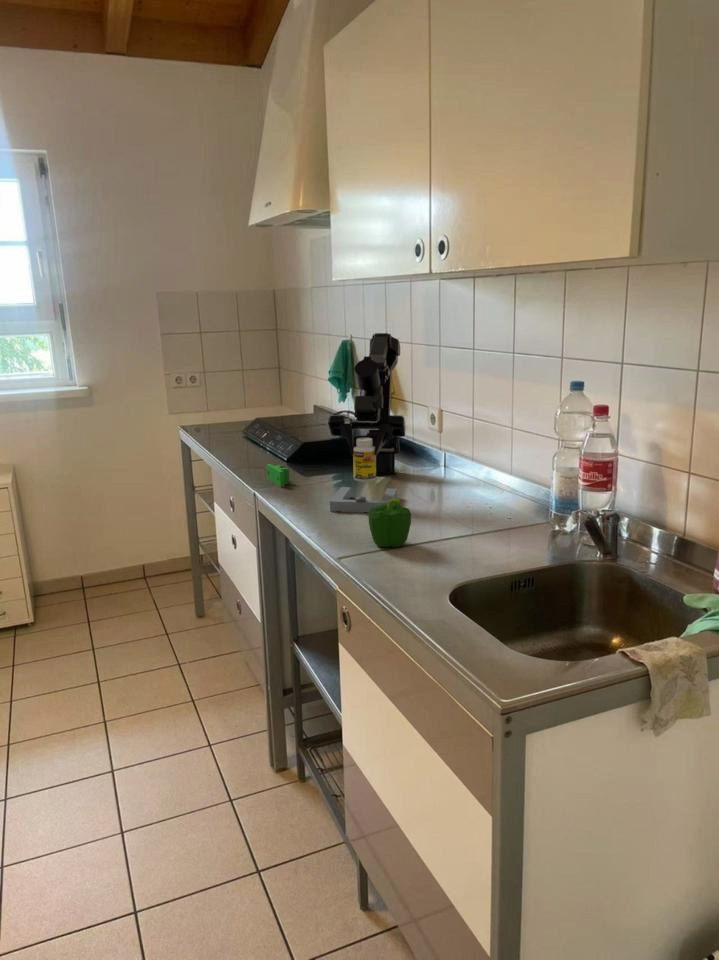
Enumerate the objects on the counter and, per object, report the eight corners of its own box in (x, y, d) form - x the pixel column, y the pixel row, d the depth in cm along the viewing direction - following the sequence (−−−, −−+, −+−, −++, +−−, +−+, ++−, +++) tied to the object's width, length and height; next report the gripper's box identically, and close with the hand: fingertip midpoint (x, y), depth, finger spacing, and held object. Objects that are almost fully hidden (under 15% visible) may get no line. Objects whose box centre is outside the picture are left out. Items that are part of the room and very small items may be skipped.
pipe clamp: (293, 486, 199) (292, 470, 198) (280, 488, 197) (279, 472, 196) (279, 478, 209) (278, 462, 208) (267, 479, 207) (266, 464, 206)
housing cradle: (341, 496, 187) (340, 484, 186) (397, 498, 184) (397, 485, 184) (330, 511, 173) (329, 498, 172) (390, 513, 171) (390, 500, 170)
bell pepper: (361, 542, 150) (361, 495, 148) (395, 536, 154) (395, 490, 152) (382, 554, 143) (382, 505, 141) (417, 546, 147) (417, 499, 145)
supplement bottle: (351, 482, 176) (350, 440, 174) (355, 476, 182) (355, 436, 179) (374, 482, 175) (373, 441, 173) (377, 477, 181) (377, 436, 178)
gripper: (328, 382, 178) (320, 435, 170) (404, 382, 175) (399, 436, 167) (335, 409, 188) (328, 460, 180) (407, 409, 185) (403, 461, 177)
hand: (363, 454), depth 176 cm, fingers closed on supplement bottle, 6 cm apart
